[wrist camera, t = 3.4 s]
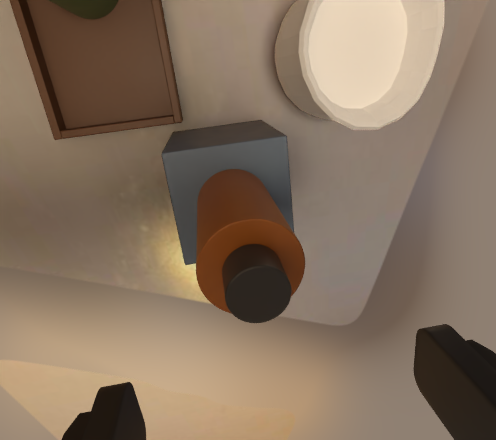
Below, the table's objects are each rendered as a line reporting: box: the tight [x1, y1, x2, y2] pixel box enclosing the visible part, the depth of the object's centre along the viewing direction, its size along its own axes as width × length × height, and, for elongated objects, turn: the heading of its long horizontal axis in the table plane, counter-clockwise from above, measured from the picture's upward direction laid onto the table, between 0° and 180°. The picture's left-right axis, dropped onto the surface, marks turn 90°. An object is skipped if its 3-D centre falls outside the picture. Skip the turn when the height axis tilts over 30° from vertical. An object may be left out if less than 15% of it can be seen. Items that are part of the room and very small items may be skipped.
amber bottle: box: [196, 169, 305, 323], centre depth 19 cm, size 5×5×11 cm
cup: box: [275, 0, 444, 130], centre depth 26 cm, size 10×10×10 cm
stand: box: [162, 120, 294, 265], centre depth 28 cm, size 8×8×10 cm
